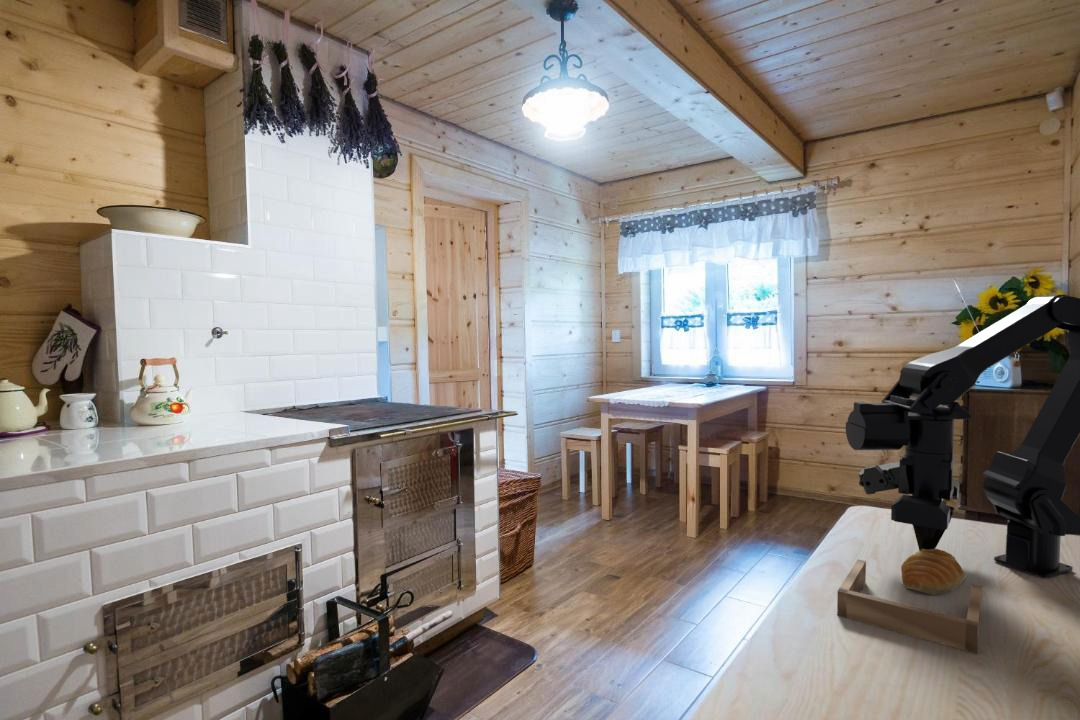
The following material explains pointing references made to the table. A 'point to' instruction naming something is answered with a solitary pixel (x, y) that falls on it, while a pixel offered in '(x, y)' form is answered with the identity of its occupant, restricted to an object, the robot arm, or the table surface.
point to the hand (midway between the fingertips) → (925, 557)
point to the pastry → (932, 572)
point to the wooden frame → (909, 614)
